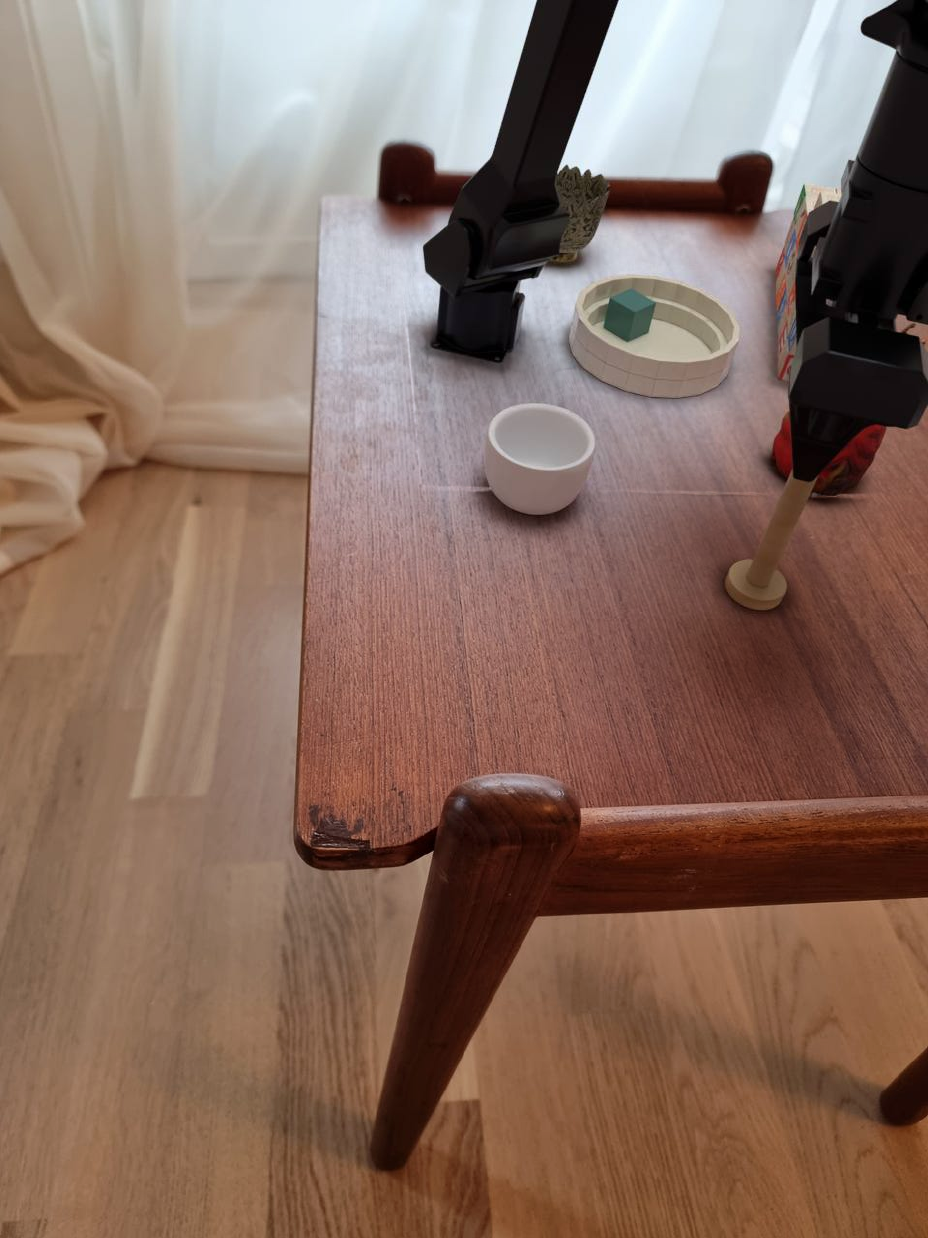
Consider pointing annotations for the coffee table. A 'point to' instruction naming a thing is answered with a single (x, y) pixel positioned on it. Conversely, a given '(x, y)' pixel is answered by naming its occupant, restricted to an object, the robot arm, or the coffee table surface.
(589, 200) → the cup
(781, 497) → the tan rod with disc
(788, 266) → the stack of blocks
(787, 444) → the red clay folk toy
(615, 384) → the bowl
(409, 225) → the coffee table surface
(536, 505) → the teacup
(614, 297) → the block
